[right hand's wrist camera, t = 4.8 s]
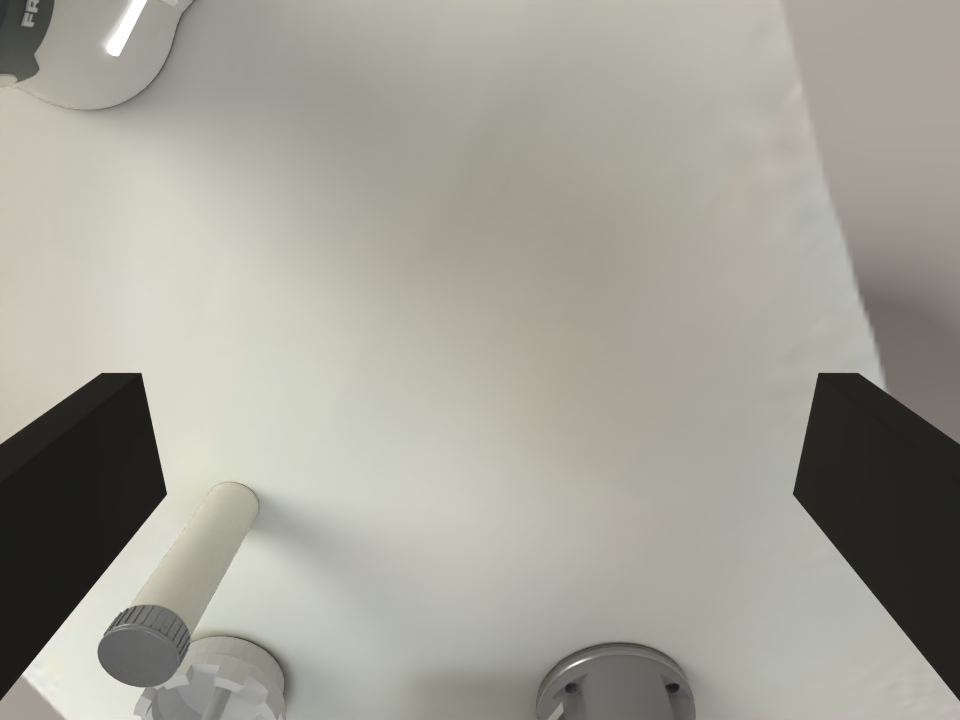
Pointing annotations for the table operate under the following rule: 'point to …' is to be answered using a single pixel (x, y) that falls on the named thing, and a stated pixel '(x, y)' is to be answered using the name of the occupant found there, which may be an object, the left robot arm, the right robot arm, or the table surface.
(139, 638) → the lid
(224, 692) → the flag stand
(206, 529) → the jar
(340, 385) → the table surface
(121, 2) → the left robot arm
